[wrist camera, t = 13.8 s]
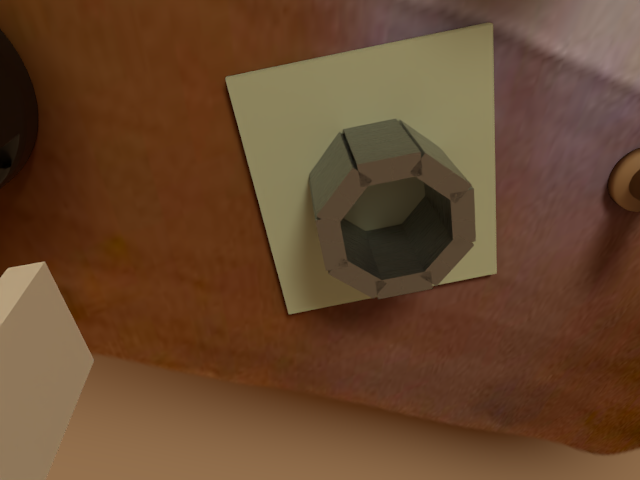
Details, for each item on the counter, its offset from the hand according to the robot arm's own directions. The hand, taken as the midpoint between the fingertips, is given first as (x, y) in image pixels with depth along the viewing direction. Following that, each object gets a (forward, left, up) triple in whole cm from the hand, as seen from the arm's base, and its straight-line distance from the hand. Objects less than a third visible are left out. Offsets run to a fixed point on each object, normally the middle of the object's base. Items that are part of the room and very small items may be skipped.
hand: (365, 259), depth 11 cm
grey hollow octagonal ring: (+4, -11, -26) cm, 28 cm away
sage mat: (+4, -11, -27) cm, 29 cm away
